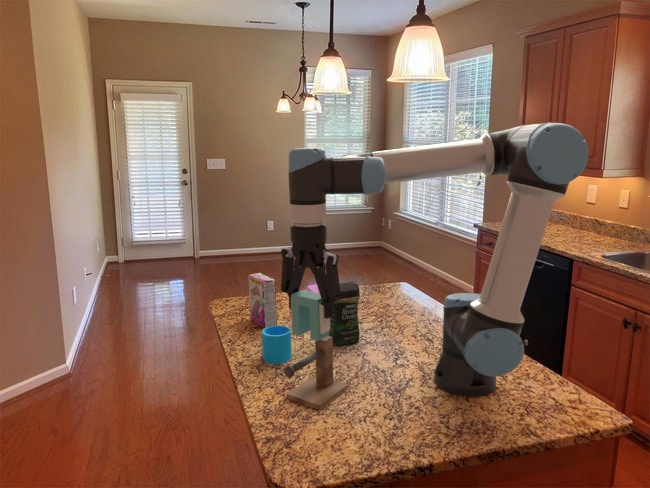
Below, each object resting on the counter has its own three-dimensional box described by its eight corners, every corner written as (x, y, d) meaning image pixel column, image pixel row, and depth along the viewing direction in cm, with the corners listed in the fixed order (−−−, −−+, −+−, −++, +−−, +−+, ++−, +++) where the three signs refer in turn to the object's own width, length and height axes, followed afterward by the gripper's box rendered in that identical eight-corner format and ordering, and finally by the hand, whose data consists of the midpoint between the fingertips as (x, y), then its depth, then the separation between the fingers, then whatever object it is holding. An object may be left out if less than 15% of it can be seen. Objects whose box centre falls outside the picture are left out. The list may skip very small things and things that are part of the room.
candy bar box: (249, 320, 173) (247, 274, 170) (262, 317, 176) (260, 272, 172) (264, 330, 164) (262, 281, 161) (277, 326, 167) (276, 279, 163)
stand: (348, 388, 125) (347, 337, 122) (307, 420, 111) (306, 363, 108) (315, 378, 130) (314, 329, 128) (272, 407, 117) (270, 353, 114)
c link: (329, 334, 109) (328, 295, 107) (317, 341, 106) (317, 300, 104) (303, 328, 113) (302, 289, 111) (292, 333, 110) (291, 294, 108)
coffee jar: (334, 348, 149) (334, 288, 145) (324, 339, 156) (323, 281, 152) (363, 343, 153) (364, 284, 149) (352, 334, 160) (352, 277, 156)
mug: (293, 362, 140) (292, 335, 138) (263, 365, 139) (262, 337, 137) (288, 345, 152) (287, 320, 150) (261, 347, 150) (260, 322, 149)
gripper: (358, 225, 101) (358, 332, 106) (283, 217, 113) (287, 314, 118) (337, 230, 95) (338, 343, 100) (260, 221, 107) (265, 323, 112)
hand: (310, 327), depth 109 cm, fingers closed on c link, 7 cm apart
